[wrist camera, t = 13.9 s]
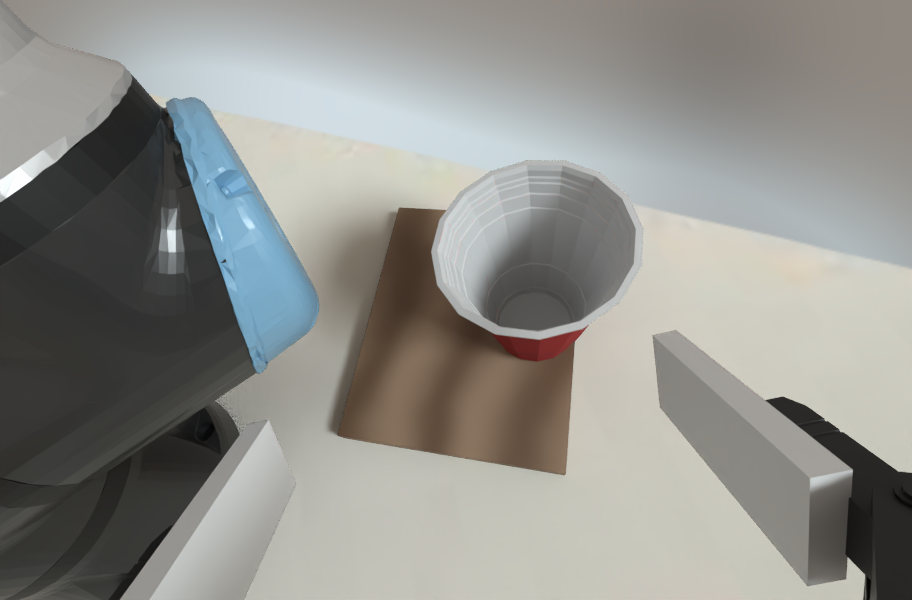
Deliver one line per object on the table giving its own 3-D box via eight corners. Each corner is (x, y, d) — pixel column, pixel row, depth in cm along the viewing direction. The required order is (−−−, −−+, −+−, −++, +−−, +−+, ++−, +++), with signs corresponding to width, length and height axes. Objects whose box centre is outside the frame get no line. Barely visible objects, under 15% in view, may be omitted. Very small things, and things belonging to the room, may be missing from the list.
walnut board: (343, 437, 33) (337, 435, 32) (402, 215, 41) (399, 207, 40) (564, 475, 30) (565, 473, 29) (581, 225, 38) (583, 217, 37)
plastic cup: (460, 267, 36) (431, 163, 26) (597, 258, 35) (626, 145, 24) (458, 399, 32) (423, 340, 21) (616, 396, 30) (664, 331, 20)
